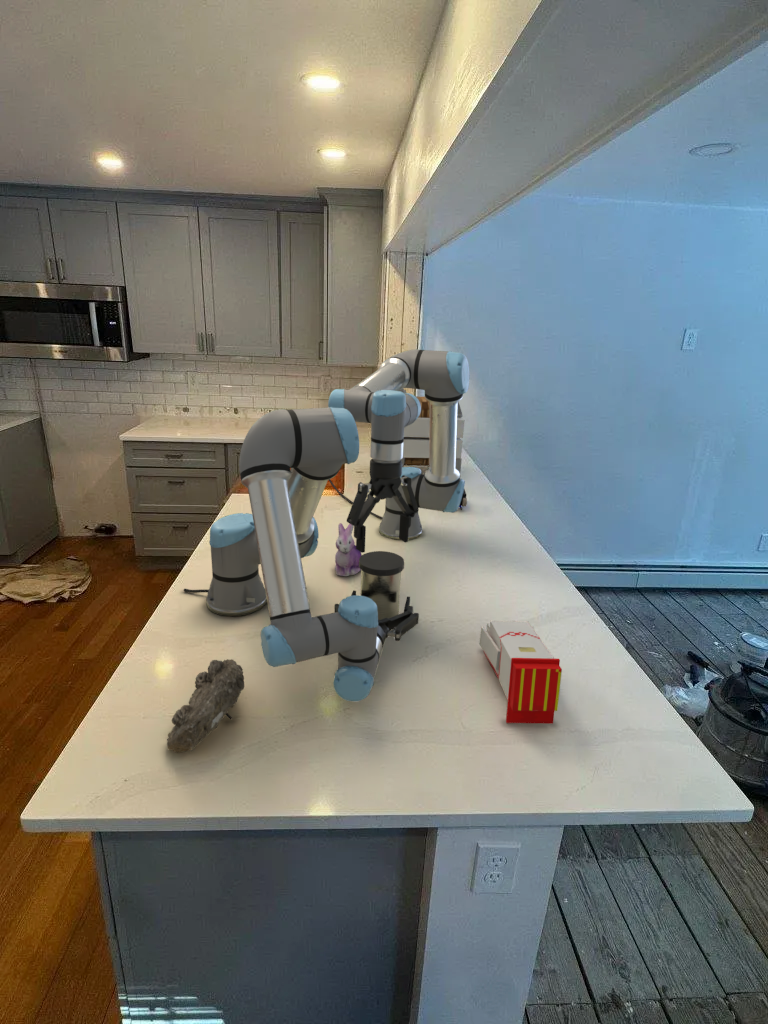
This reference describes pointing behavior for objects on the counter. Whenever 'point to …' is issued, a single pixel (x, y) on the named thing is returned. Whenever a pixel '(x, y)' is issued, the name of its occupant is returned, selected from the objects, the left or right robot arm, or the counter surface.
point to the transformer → (426, 437)
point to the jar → (382, 593)
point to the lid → (381, 563)
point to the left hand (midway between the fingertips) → (381, 598)
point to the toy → (523, 670)
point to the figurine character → (463, 500)
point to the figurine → (346, 552)
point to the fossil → (206, 705)
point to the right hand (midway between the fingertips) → (382, 545)
